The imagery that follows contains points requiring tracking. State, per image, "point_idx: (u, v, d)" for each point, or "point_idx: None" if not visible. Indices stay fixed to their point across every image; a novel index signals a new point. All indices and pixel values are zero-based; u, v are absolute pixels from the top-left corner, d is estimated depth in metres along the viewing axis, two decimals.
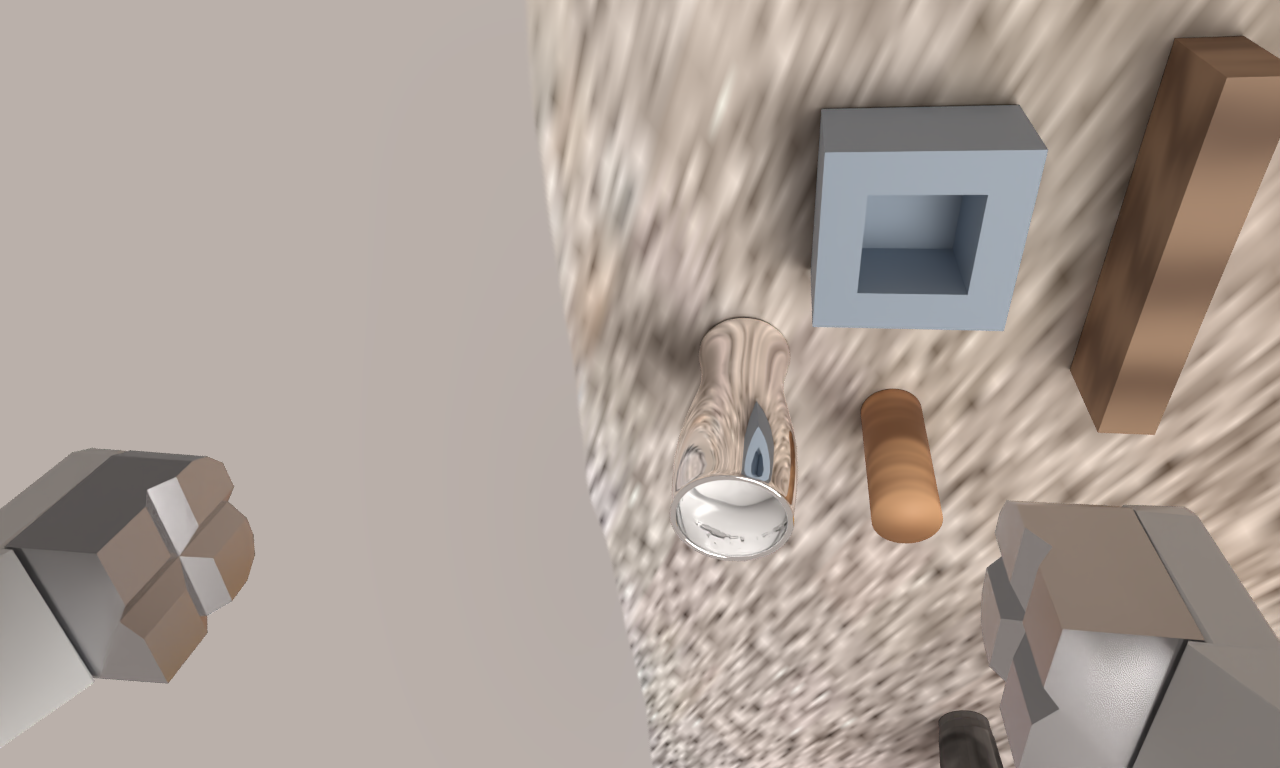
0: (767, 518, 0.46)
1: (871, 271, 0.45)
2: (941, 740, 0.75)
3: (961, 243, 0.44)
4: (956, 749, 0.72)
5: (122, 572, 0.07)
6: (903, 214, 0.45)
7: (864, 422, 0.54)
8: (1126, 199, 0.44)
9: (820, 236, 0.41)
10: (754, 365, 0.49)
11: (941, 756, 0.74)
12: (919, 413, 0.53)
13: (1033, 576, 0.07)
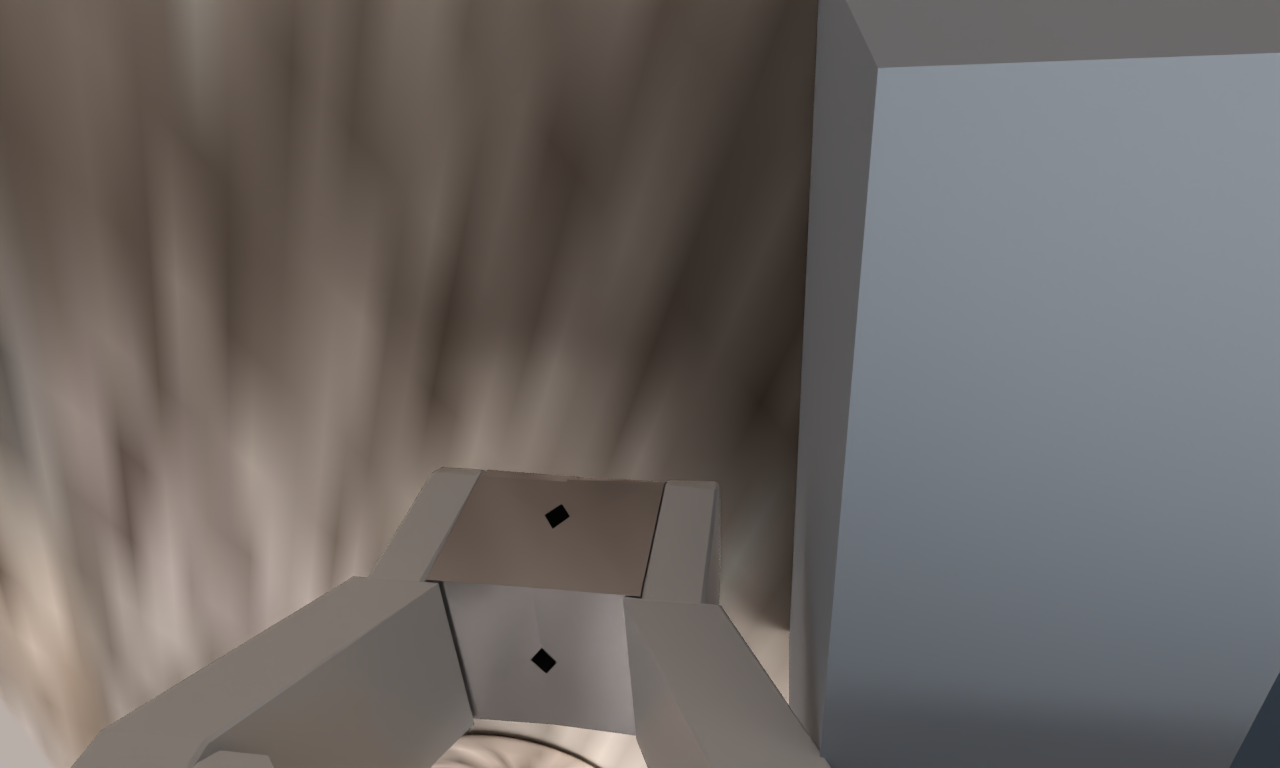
0: None
1: None
2: None
3: None
4: None
5: (544, 608, 0.07)
6: None
7: None
8: None
9: None
10: None
11: None
12: None
13: None
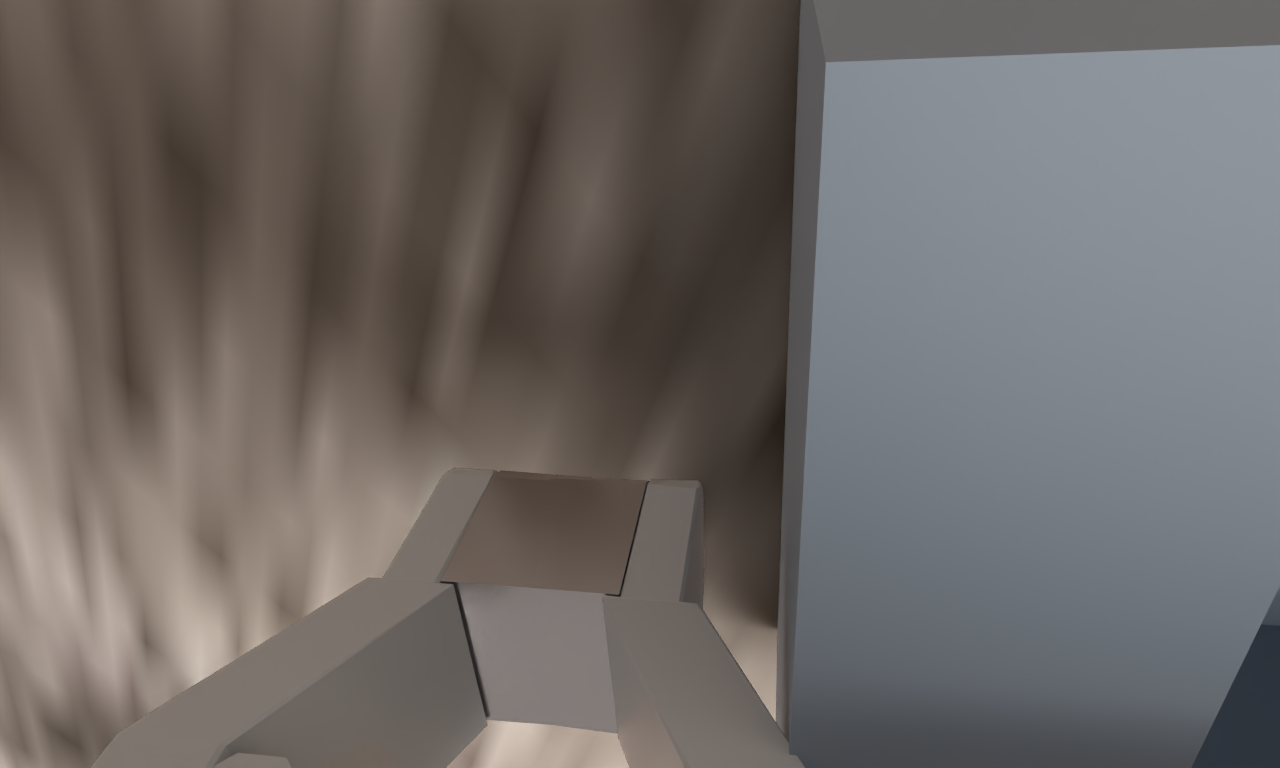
0: None
1: None
2: None
3: None
4: None
5: (560, 608, 0.07)
6: None
7: None
8: None
9: None
10: None
11: None
12: None
13: None
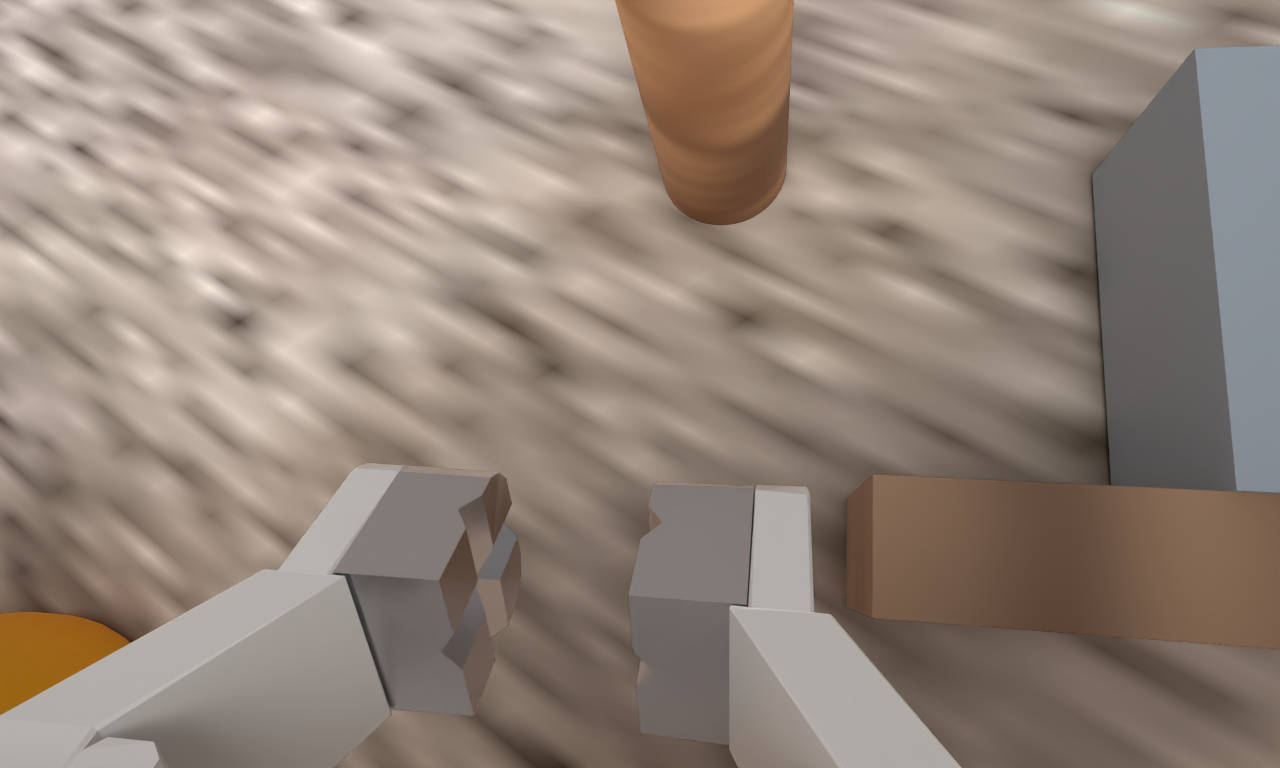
0: None
1: None
2: None
3: None
4: None
5: (451, 600, 0.07)
6: None
7: None
8: None
9: None
10: None
11: None
12: (762, 187, 0.24)
13: None
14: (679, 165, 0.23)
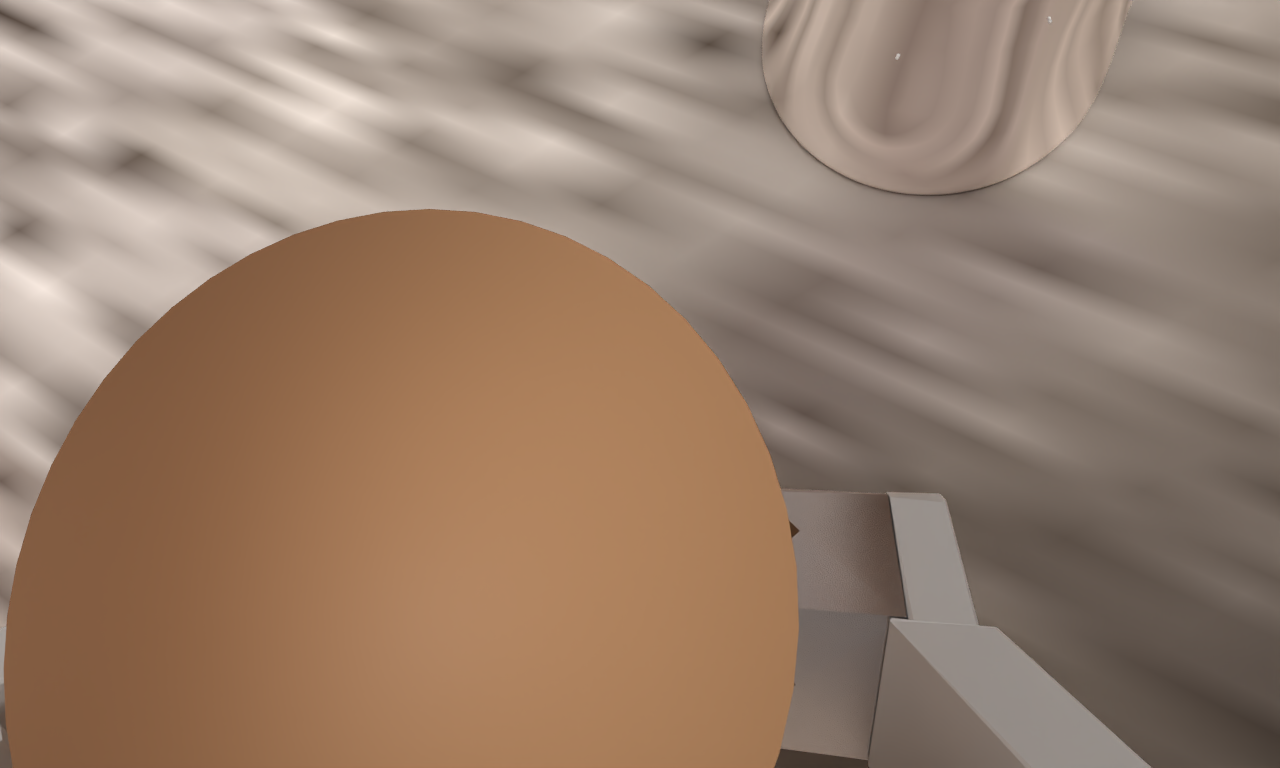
0: None
1: None
2: None
3: None
4: None
5: None
6: None
7: None
8: None
9: None
10: None
11: None
12: None
13: None
14: None
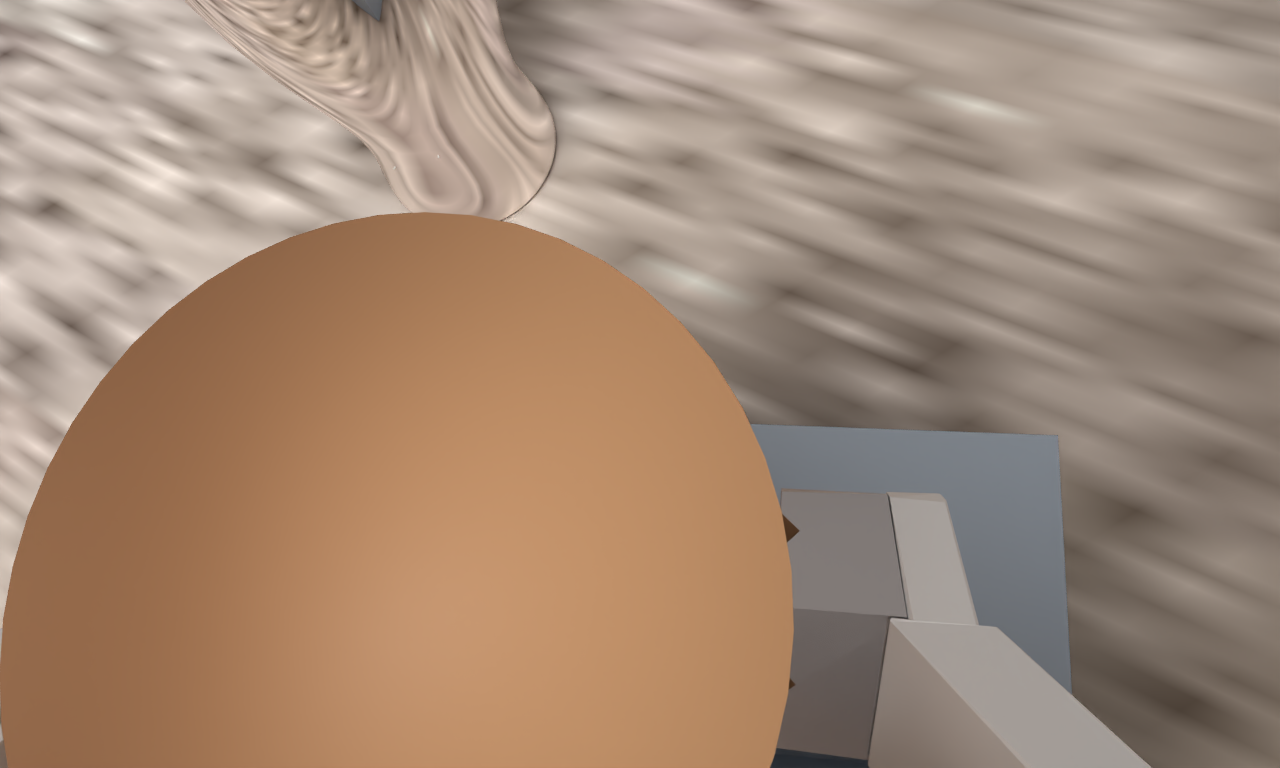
0: None
1: None
2: None
3: None
4: None
5: None
6: None
7: None
8: None
9: (843, 430, 0.18)
10: (499, 90, 0.23)
11: None
12: None
13: None
14: None
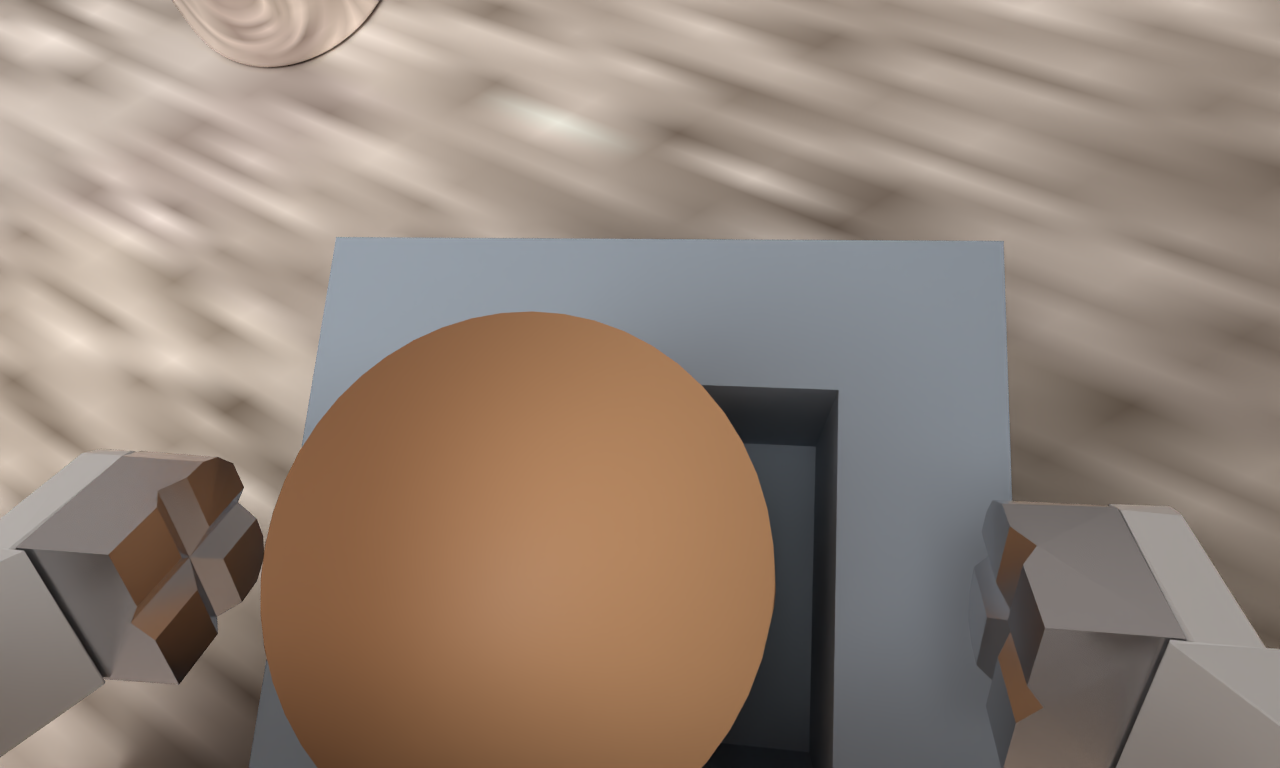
0: None
1: None
2: None
3: None
4: None
5: (133, 574, 0.07)
6: None
7: None
8: None
9: (683, 244, 0.12)
10: None
11: None
12: None
13: (1018, 575, 0.07)
14: None
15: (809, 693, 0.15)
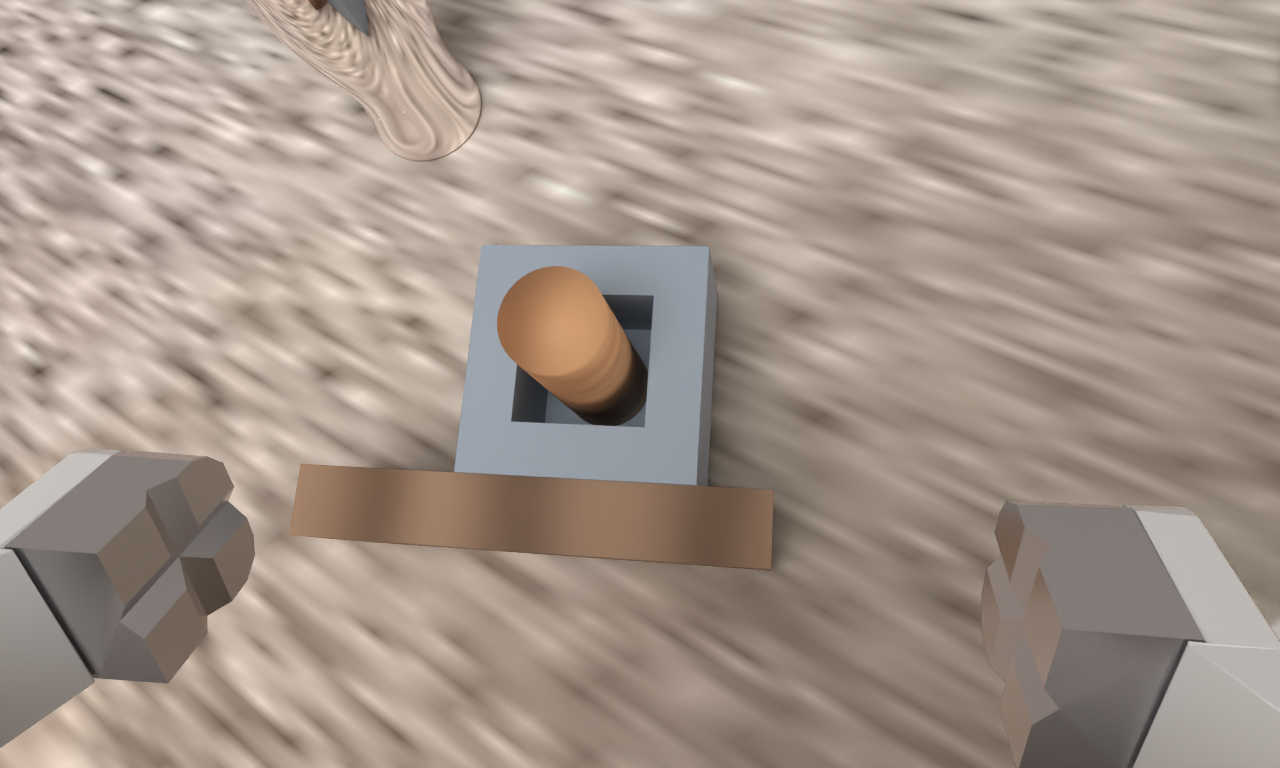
0: None
1: None
2: None
3: None
4: None
5: (122, 573, 0.07)
6: None
7: None
8: None
9: (605, 247, 0.34)
10: (438, 73, 0.40)
11: None
12: (626, 410, 0.36)
13: (1033, 576, 0.07)
14: (566, 405, 0.35)
15: None
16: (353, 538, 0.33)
